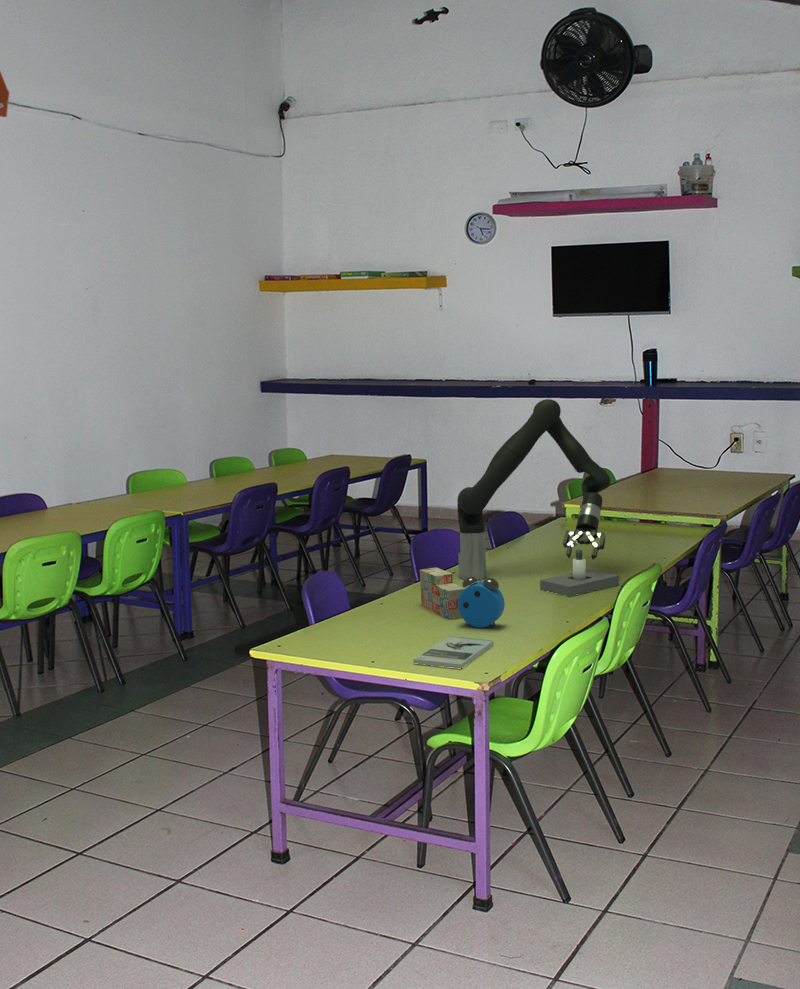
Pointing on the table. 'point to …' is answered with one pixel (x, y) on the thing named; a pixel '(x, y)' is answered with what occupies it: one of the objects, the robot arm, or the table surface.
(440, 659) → the book
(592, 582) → the socket plate
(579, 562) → the plug
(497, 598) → the alarm clock
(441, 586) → the stack of blocks
